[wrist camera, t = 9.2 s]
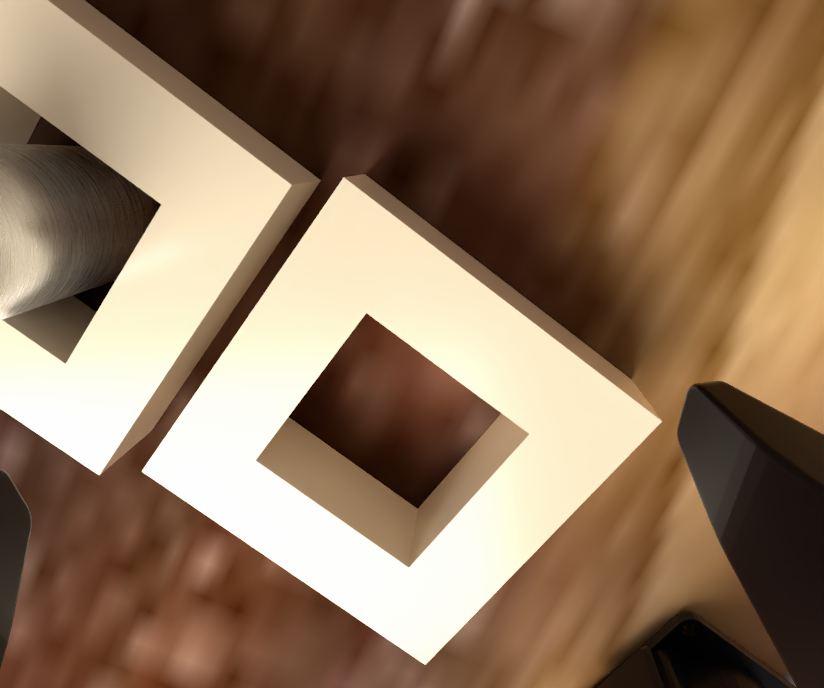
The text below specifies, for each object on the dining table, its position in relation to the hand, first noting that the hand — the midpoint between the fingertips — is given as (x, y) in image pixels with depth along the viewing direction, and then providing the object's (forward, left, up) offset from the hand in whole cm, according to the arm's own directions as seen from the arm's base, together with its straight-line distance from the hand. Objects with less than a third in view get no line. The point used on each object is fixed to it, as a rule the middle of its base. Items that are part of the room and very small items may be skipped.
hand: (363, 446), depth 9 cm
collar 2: (-2, +4, -13) cm, 14 cm away
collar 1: (+10, +5, -13) cm, 17 cm away
